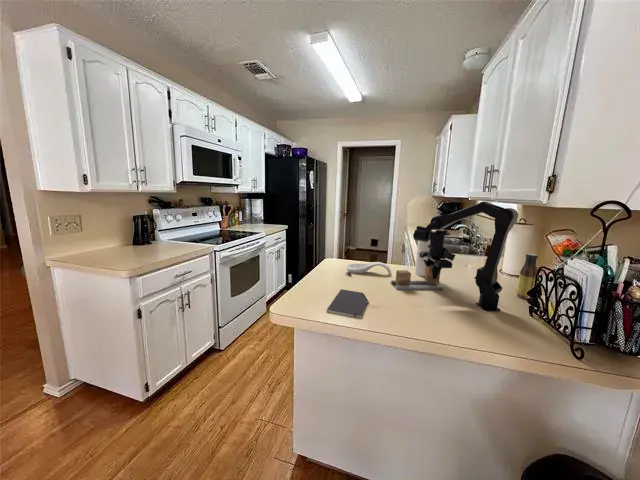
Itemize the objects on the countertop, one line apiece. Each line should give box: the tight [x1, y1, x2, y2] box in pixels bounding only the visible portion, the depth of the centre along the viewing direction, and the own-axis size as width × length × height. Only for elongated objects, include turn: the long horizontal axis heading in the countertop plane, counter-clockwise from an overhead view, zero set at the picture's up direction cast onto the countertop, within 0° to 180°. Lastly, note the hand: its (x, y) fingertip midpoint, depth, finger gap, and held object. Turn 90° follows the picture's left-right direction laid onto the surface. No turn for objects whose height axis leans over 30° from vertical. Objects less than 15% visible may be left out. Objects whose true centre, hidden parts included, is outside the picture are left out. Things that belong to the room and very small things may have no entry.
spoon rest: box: [345, 261, 392, 277], centre depth 145 cm, size 24×12×7 cm, turn 76°
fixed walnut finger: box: [395, 269, 412, 285], centre depth 125 cm, size 3×6×7 cm, turn 96°
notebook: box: [326, 288, 369, 319], centre depth 108 cm, size 13×2×21 cm
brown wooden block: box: [424, 266, 442, 284], centre depth 126 cm, size 3×6×7 cm, turn 96°
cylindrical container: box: [414, 230, 436, 277], centre depth 143 cm, size 7×7×25 cm
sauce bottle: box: [516, 252, 539, 300], centre depth 121 cm, size 6×6×20 cm
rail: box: [389, 279, 446, 292], centre depth 126 cm, size 10×22×3 cm, turn 96°
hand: (432, 277), depth 126 cm, fingers closed on brown wooden block, 3 cm apart
